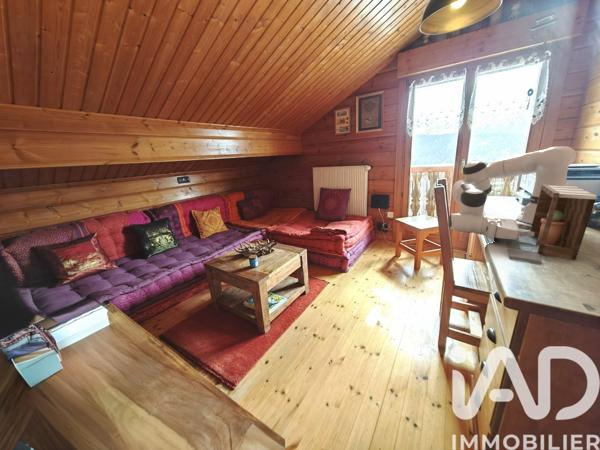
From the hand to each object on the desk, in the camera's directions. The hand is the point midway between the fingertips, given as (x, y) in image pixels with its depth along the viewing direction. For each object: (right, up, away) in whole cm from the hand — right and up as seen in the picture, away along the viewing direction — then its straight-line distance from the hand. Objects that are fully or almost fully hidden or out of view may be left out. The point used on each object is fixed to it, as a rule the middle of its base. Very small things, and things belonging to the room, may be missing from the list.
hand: (532, 231), depth 98 cm
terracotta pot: (+5, -6, -1) cm, 8 cm away
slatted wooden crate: (+5, -6, -1) cm, 8 cm away
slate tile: (-13, -9, -10) cm, 19 cm away
